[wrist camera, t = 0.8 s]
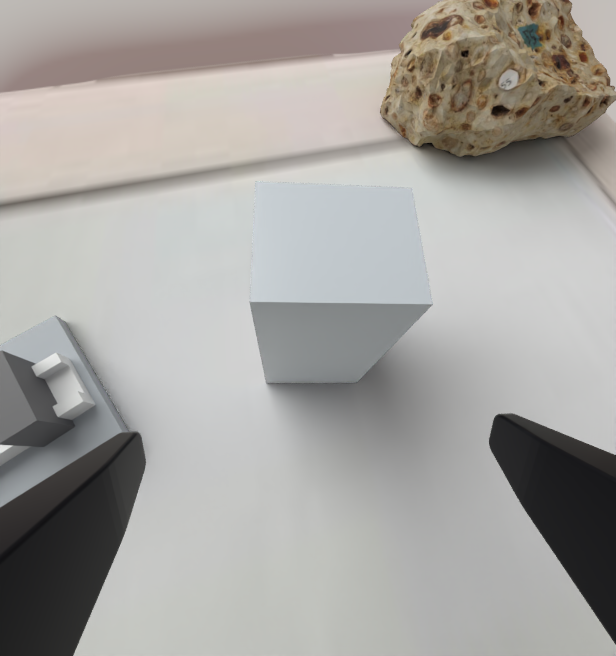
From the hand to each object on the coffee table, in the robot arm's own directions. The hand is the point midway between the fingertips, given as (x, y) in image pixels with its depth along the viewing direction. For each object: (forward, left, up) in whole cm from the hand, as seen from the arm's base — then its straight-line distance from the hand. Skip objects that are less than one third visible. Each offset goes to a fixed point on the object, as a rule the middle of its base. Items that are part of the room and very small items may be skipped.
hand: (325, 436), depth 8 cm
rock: (+21, -30, -13) cm, 38 cm away
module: (+6, -4, -13) cm, 14 cm away
